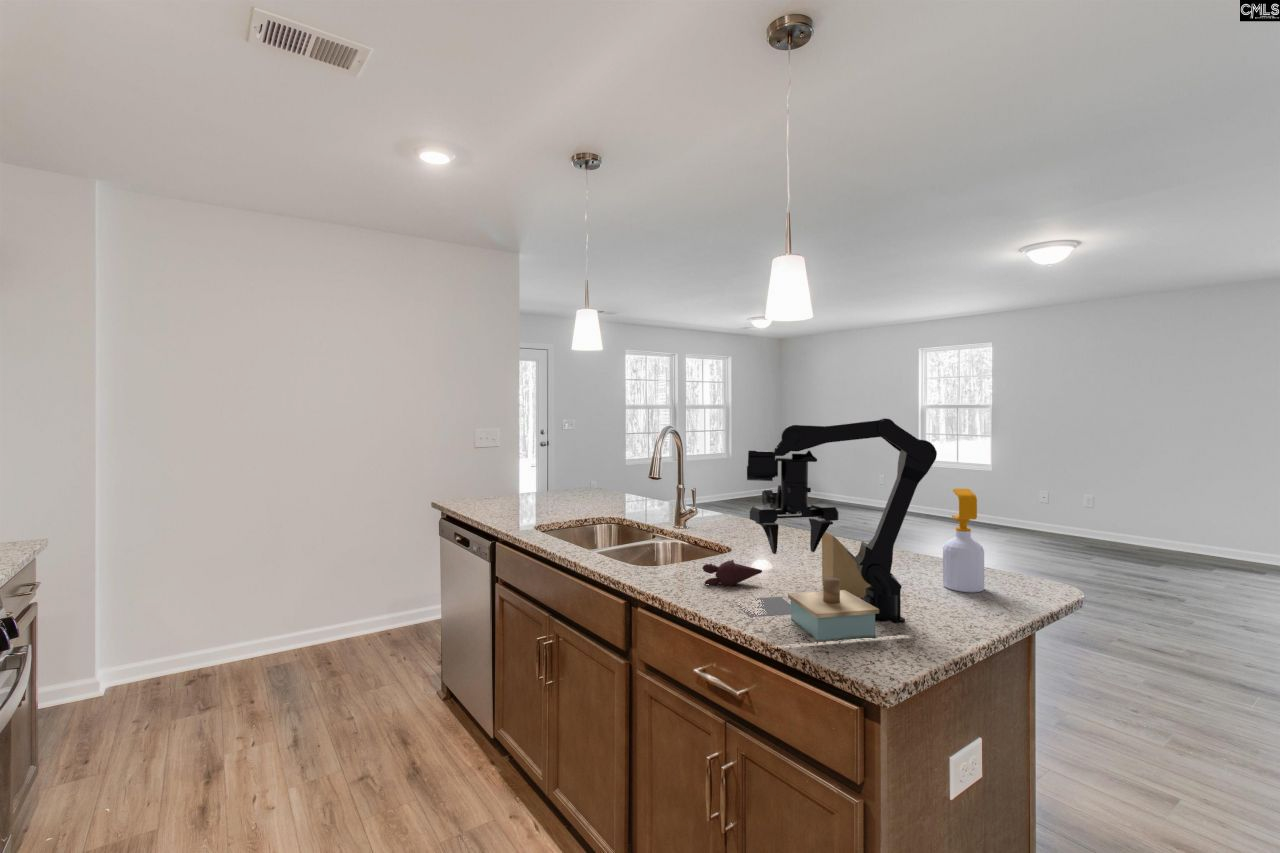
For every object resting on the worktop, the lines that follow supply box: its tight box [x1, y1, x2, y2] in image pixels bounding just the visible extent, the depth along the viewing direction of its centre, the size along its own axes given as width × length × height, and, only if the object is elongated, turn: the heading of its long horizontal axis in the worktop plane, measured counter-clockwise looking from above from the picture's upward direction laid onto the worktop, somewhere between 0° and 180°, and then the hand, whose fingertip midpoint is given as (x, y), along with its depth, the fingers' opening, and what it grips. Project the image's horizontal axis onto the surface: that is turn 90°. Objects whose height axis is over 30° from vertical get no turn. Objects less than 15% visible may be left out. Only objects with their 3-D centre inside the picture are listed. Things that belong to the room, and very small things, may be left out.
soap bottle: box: [942, 488, 985, 594], centre depth 148 cm, size 9×9×25 cm
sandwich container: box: [821, 530, 870, 598], centre depth 146 cm, size 9×15×15 cm, turn 91°
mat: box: [737, 596, 791, 618], centre depth 134 cm, size 12×12×1 cm
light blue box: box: [790, 600, 876, 641], centre depth 121 cm, size 12×12×5 cm
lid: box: [787, 577, 879, 618], centre depth 121 cm, size 13×13×5 cm
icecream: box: [702, 559, 763, 587], centre depth 152 cm, size 7×7×15 cm
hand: (793, 552), depth 131 cm, fingers open, 9 cm apart
